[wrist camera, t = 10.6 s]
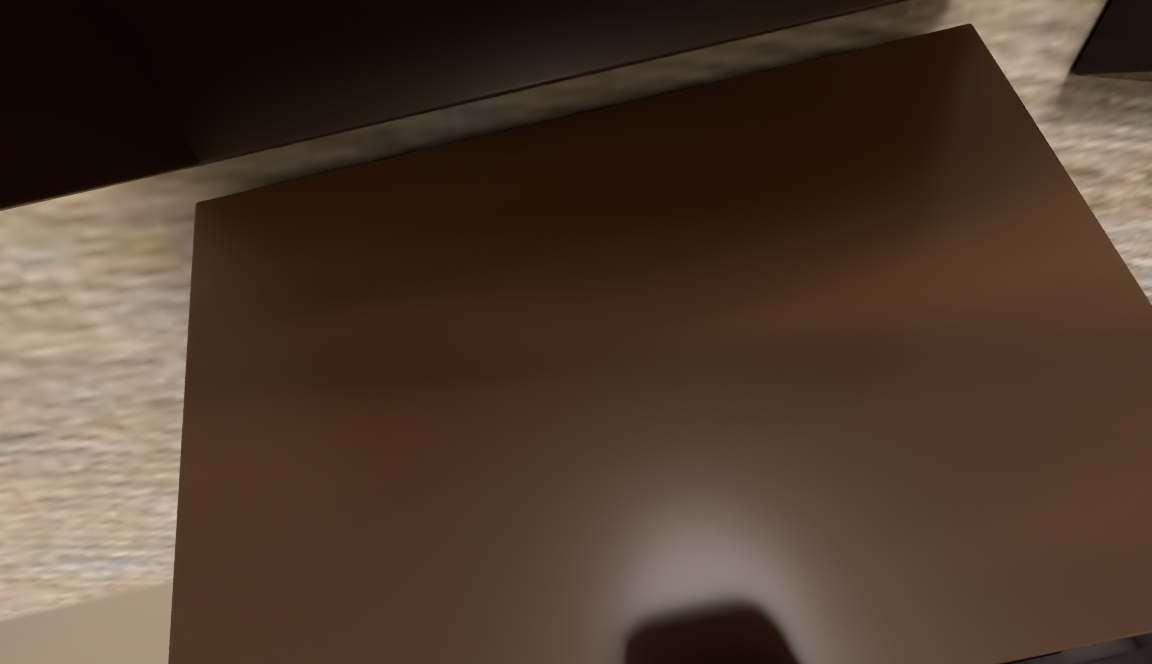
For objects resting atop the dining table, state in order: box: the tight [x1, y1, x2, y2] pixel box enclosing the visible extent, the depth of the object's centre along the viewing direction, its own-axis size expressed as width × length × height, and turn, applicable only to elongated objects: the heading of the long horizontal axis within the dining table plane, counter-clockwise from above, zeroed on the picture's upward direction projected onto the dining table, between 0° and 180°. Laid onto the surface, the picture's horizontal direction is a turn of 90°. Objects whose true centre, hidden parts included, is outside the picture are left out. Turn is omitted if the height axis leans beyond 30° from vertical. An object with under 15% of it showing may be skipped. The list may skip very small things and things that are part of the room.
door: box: [168, 24, 1152, 664], centre depth 9 cm, size 6×13×8 cm
